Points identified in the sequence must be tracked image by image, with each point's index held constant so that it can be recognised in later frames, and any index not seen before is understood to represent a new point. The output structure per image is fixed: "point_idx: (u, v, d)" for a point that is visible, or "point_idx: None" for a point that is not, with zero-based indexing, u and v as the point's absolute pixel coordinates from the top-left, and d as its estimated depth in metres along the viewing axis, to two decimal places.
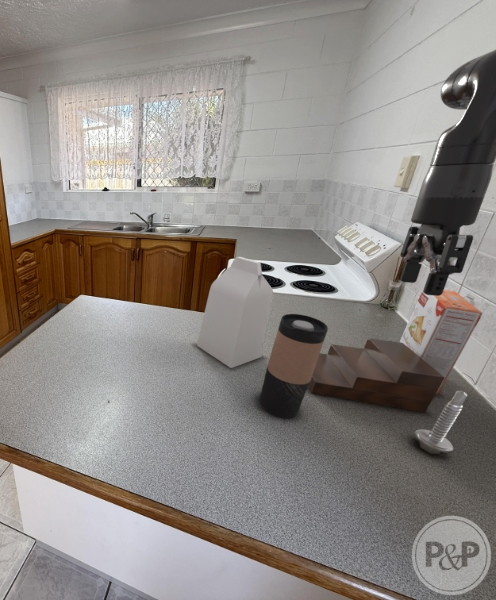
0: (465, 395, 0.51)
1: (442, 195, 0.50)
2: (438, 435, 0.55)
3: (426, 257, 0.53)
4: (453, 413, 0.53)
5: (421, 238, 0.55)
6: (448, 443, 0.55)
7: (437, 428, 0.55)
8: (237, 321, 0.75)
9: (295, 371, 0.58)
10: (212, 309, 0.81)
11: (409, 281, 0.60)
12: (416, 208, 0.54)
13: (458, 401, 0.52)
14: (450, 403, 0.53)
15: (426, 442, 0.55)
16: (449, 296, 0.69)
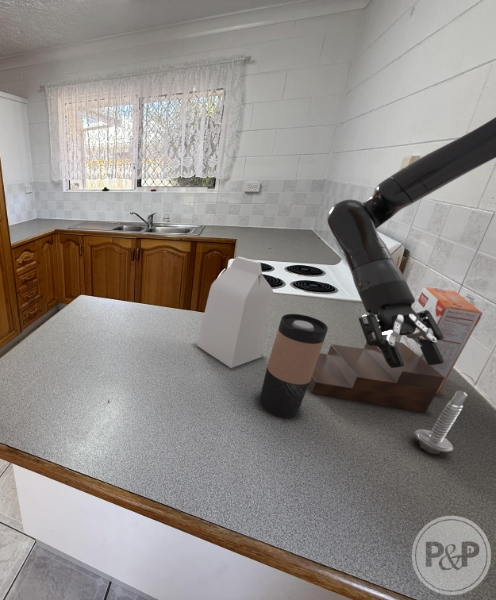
0: (465, 395, 0.51)
1: (358, 291, 0.66)
2: (438, 435, 0.55)
3: None
4: (453, 413, 0.53)
5: None
6: (448, 443, 0.55)
7: (437, 428, 0.55)
8: (237, 320, 0.75)
9: (295, 371, 0.58)
10: (212, 309, 0.81)
11: (435, 363, 0.58)
12: None
13: (458, 401, 0.52)
14: (450, 403, 0.53)
15: (426, 442, 0.55)
16: (449, 296, 0.69)
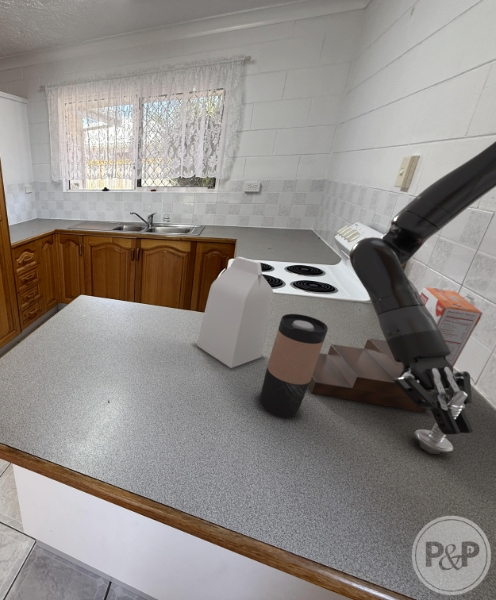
0: (465, 395, 0.51)
1: (386, 338, 0.60)
2: (438, 435, 0.55)
3: None
4: (453, 413, 0.53)
5: None
6: (448, 443, 0.55)
7: (437, 428, 0.55)
8: (237, 320, 0.75)
9: (295, 371, 0.58)
10: (212, 309, 0.81)
11: (462, 431, 0.52)
12: None
13: (458, 401, 0.52)
14: (450, 403, 0.53)
15: (426, 442, 0.55)
16: (449, 296, 0.69)
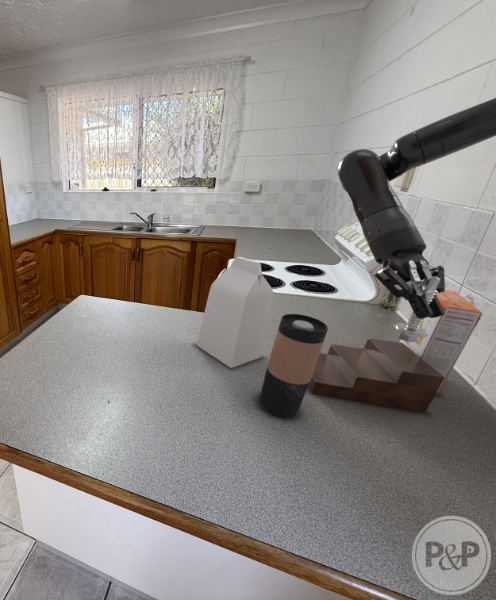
0: (438, 279, 0.56)
1: (368, 242, 0.65)
2: (414, 323, 0.59)
3: (400, 287, 0.61)
4: (427, 298, 0.57)
5: None
6: (423, 330, 0.59)
7: (413, 316, 0.59)
8: (237, 320, 0.75)
9: (295, 371, 0.58)
10: (212, 309, 0.81)
11: (435, 315, 0.57)
12: None
13: (432, 285, 0.56)
14: (425, 290, 0.57)
15: (403, 330, 0.59)
16: (449, 296, 0.69)
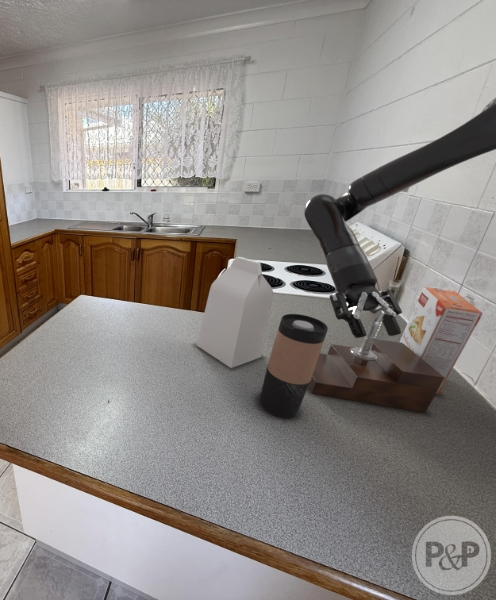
0: (382, 313, 0.66)
1: (330, 274, 0.75)
2: (365, 348, 0.70)
3: None
4: (375, 328, 0.68)
5: None
6: (373, 355, 0.70)
7: (364, 342, 0.70)
8: (237, 320, 0.75)
9: (295, 371, 0.58)
10: (212, 309, 0.81)
11: (394, 334, 0.68)
12: None
13: (378, 318, 0.67)
14: (373, 321, 0.68)
15: (357, 354, 0.70)
16: (449, 296, 0.69)
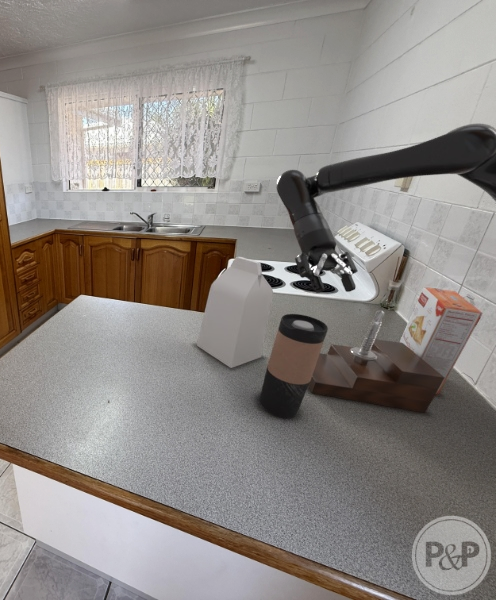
0: (382, 313, 0.66)
1: (297, 240, 0.85)
2: (365, 348, 0.70)
3: None
4: (375, 328, 0.68)
5: None
6: (373, 355, 0.70)
7: (364, 342, 0.70)
8: (237, 320, 0.75)
9: (295, 371, 0.58)
10: (212, 309, 0.81)
11: (349, 289, 0.77)
12: None
13: (378, 318, 0.67)
14: (373, 321, 0.68)
15: (357, 354, 0.70)
16: (449, 296, 0.69)
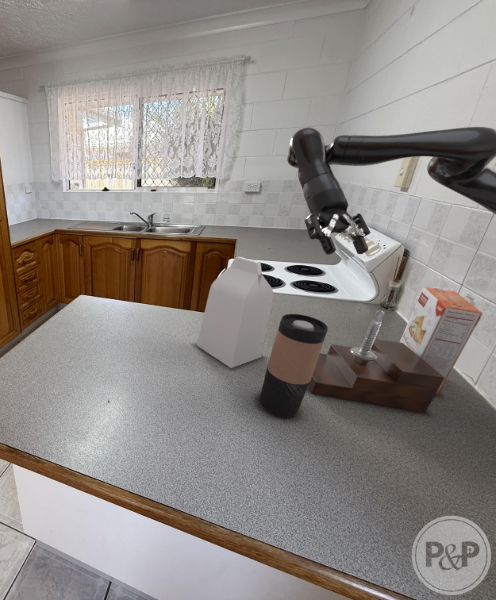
0: (382, 313, 0.66)
1: (307, 203, 0.81)
2: (365, 348, 0.70)
3: None
4: (375, 328, 0.68)
5: None
6: (373, 355, 0.70)
7: (364, 342, 0.70)
8: (237, 320, 0.75)
9: (295, 371, 0.58)
10: (212, 309, 0.81)
11: (362, 251, 0.74)
12: None
13: (378, 318, 0.67)
14: (373, 321, 0.68)
15: (357, 354, 0.70)
16: (449, 296, 0.69)
